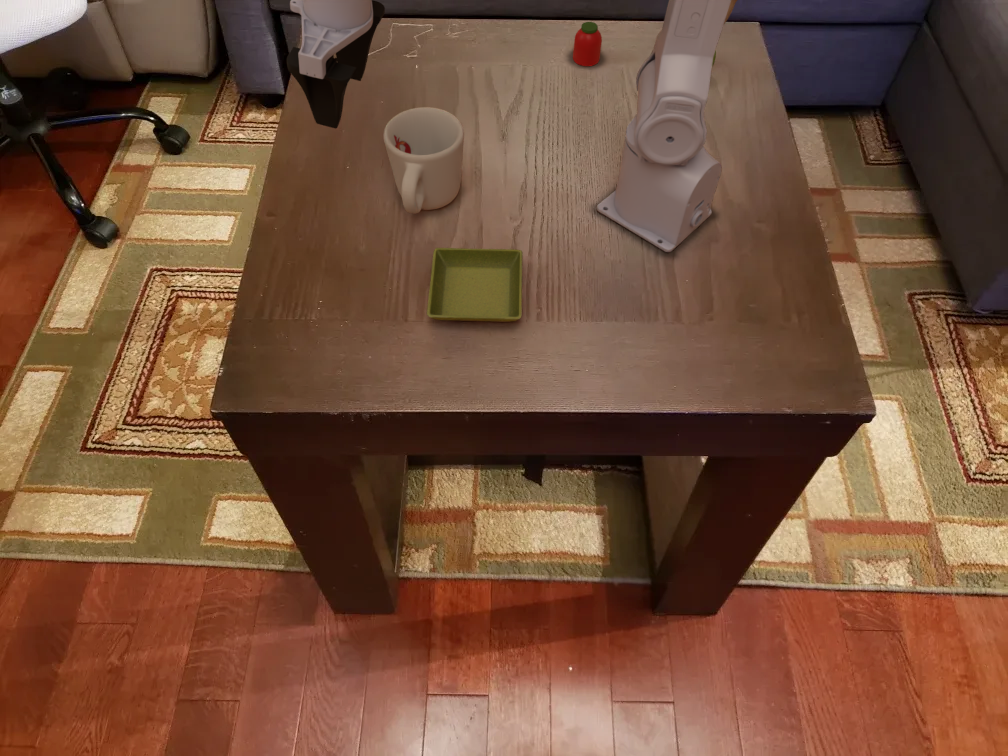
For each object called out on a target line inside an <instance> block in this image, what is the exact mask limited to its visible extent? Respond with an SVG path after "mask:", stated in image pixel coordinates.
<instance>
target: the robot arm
mask: <svg viewBox="0 0 1008 756" xmlns="http://www.w3.org/2000/svg"><path fill="white" fill-rule="evenodd" d="M730 3H731V0H668V3H667V6H666V11H665V14H664V18H663V23H662V28H661V30H660V31H659V33H657V35H656V38H655V42H654V46H653V49H652V50H651V53H650V54H649V56H648V57H646V59H645V60H644V61H643V62H642V63H641V65H640V67H639V69H638V71H637V74H636V82H635V83H636V84H635V85H636V91H637V99H636V100H637V102H636V114H635V115H634V116H633V118H632V119H631V120H630V122H629V123H628V124H627V127H626V131H625V136H624V141H623V148H622V154H621V160H620V165H619V170H618V171H619V172H618V177H617V182H616V188H615V190H613V192H611V193H610V194H608V195H607V196H606V197H605V198H604V199H602V200H601V201H600V202H599V203H598V204H597V205H596V211H597V212H599V213H600V214H602V215H604V216H605V217H607V218H608V219H610V220H612V221H614V222H615V223H617V224H618V225H620V226H622V227H623V228H625V229H627V230H629V231H630V232H632V233H633V234H636V235H637V236H638V237H640V238H642V239H644V240H645V241H646V242H648V243H650V244H652V245H654V246H655V247H656V248H659V249H660V250H662V251H663V252H665V253H671V252H673V250H675V249H676V247H678V246H679V245H680V244H681V243H683V241H684V240H685V239H687V238H688V237H689V236H690V235H691V234H692V233H693V232H694V231H695V230H696V229H697V228H698V227H699V226H700V225H702V224H703V223H704V222H705V221H706V220H707V219H708V218H710V216H711V215H712V212H713V210H712V209H711V207H712V204H713V200H714V197H715V194H716V192H717V188H718V184H719V182H720V178H721V175H722V169H723V166H722V163H721V162H719V160H717V159H716V158H715V157H713V155H711V154H710V153H709V152H708V150H707V149H706V147H705V146H704V145H705V143H706V140H707V136H708V130H707V124H706V118H705V117H706V116H705V111H706V107H707V102H708V99H709V93H710V86H711V78H712V68H713V67H712V63H713V57H714V54H715V51H716V52H717V47H718V45H719V41H720V37H721V34H722V31H723V28H724V26H725V24H724V22H725V19H726V15H727V12H728V9H729V6H730ZM289 8H290V11H291V12H293V13H296V14H299V15H300V16H301V17H300V18H301V45H300V46H301V47H296V46H293V47H292V48H291V50H290V52H289V54H288V55H287V56H286V67H287V71H288V72H289V74H291V76H293V78H294V79H295V81H297V83H298V85H299V86H300V87H301V90H302V91H303V93H304V95H305V98H306V100H307V103H308V106H309V108H310V111H311V113H312V116H313V119H314V122H315V123H316V124H317V125H319V126H324V127H328V128H332V129H338V127H339V124H340V123H341V120H342V115H343V109H344V100H345V94H346V90H347V87H348V84H349V82H350V80H355V81H357V82H361V81H362V79H363V77H364V75H365V71H366V68H367V67H366V66H367V64H368V58H369V53H370V49H371V45H372V42H373V39H374V36H375V34H376V33H375V32H376V30H377V27H378V25H379V24H381V23H380V22H381V21H382V19H383V17H384V15H385V13H386V7H385V5H384V4H383V3H382V2H380V1H377V0H290V1H289ZM334 55H335V56H334Z"/></svg>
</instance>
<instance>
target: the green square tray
mask: <svg viewBox="0 0 1008 756" xmlns="http://www.w3.org/2000/svg"><path fill="white" fill-rule="evenodd" d="M523 255H524V254H523V250H521V249H516V248H515V249H514V248H465V247H464V248H463V247H462V248H461V247H435V249H433V253H432V261H431V271H430V282H429V288H428V289H429V290H428V298H427V306H426V315H427V317H428V318H429V319H432V320H437V321H465V322H466V321H467V322H471V321H472V322H473V321H474V322H511V323H512V322H517V321H518V320H520V319H521V318H522V316H523V314H522V313H523V304H522V303H523V257H524V256H523Z"/></svg>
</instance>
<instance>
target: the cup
mask: <svg viewBox="0 0 1008 756" xmlns="http://www.w3.org/2000/svg"><path fill="white" fill-rule="evenodd" d="M383 142H384V143H383V144H384V146H385V149H386V150H385V151H386V153H387V157H388V160H389V164H390V168H391V171H392V174H393V178H394V182H395V185H396V188H397V192H398V193H399V196H400V197H401V201H402V205H403V209H404V210H405V212H407V213H408V214H413V215H416V214H419V213H420V212H421V210H425V211H427V210H429V211H430V210H437V209H441V208H444V207H446V206H448V205H449V204H451V203H453V201H454V200H455V198H456V197H457V195H458V194H459V192H460V188H461V183H462V170H463V157H464V156H463V155H464V144H465V143H464V142H465V129H464V126H463V124H462V122H461V120H460V119H459V118H458V117H457V116H455V115H454V114H452V113H451V112H449V111H447V110H444V109H441V108H437V107H432V106H430V107H429V106H421V107H420V106H419V107H414V108H410V109H406V110H404V111H401V112H399V113H398V114H396V115H394V116H393V117H392V118H391V119H390V120H389V121H388V122H387V124H386V125H385V127H384V130H383Z"/></svg>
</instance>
